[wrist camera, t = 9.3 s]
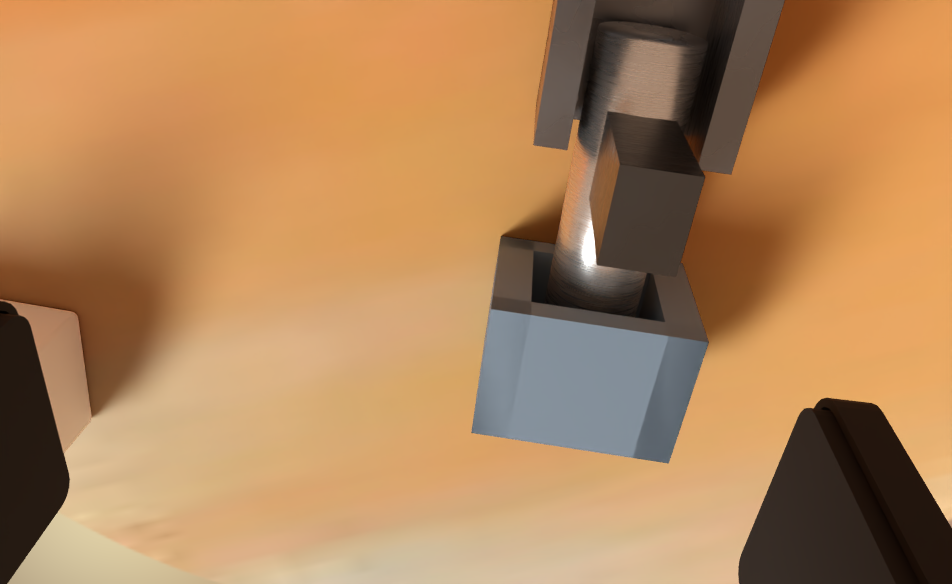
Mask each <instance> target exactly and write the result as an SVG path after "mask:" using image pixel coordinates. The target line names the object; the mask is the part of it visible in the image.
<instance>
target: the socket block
mask: <svg viewBox="0 0 952 584" xmlns="http://www.w3.org/2000/svg"><path fill="white" fill-rule="evenodd" d="M555 245H556V244H551V243H544V242H537V241H531V240H524V239H518V238H511V237H504V236H501V239H500V245H499V252H498V258H497V265H496V271H495V278H494V284H493V290H492V297H491V303H490V310H489V316H488V323H487V329H486V335H485V342H484V348H483V355H482V362H481V369H480V376H479V383H478V390H477V397H476V404H475V412H474V419H473V426H472V433H476V434H482V435H489V436H495V437H502V438H508V439H515V440H521V441H527V442H534V443H540V444H547V445H553V446H560V447H566V448H573V449H579V450H586V451H592V452H598V453H605V454H611V455H618V456H624V457H631V458H637V459H644V460H650V461H657V462H663V463H669V461H670V458H671V455H672V452H673V449H674V446H675V443H676V440H677V437H678V434H679V431H680V428H681V425H682V422H683V419H684V416H685V413H686V410H687V407H688V404H689V401H690V398H691V395H692V392H693V388H694V385H695V382H696V379H697V376H698V373H699V370H700V367H701V364H702V361H703V358H704V355H705V352H706V349H707V346H708V343H709V341H708V338H707V335H706V332H705V329H704V326H703V323H702V320H701V317H700V314H699V311H698V308H697V305H696V302H695V299H694V296H693V293H692V290H691V287H690V284H689V281H688V278H687V275H686V272H685V269H684V266H683V263H680V266H679V269H678V273H677V276H676V277H671V276H664V275H658V274H651V273H647V275H646V278H645V282H644V286H643V290H642V293H641V297H640V301H639V304H638V308H637V312H636V316H635V318H634V317H627V316H621V315H614V314H608V313H601V312H595V311H588V310H581V309H575V308H568V307H562V306H555V305H548V304H544V301H545V296H546V291H547V286H548V280H549V275H550V270H551V265H552V260H553V255H554V250H555Z"/></svg>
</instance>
